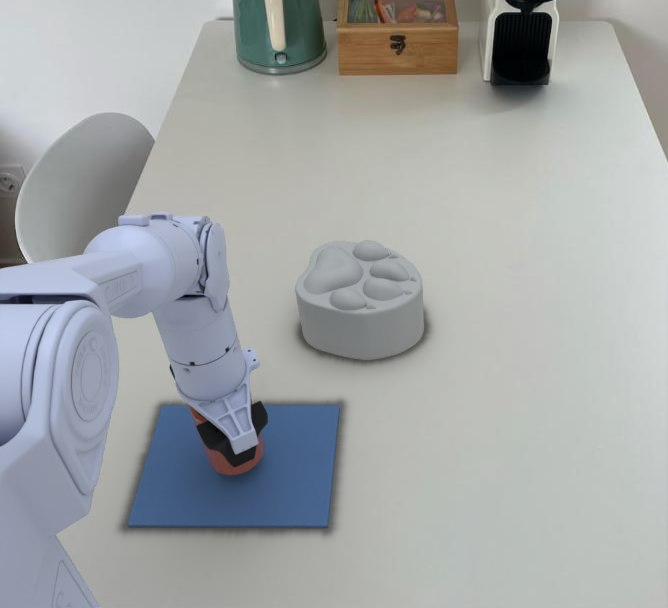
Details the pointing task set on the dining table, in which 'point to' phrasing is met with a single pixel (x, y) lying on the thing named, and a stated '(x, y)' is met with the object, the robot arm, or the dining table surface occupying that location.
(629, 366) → the dining table surface
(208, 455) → the cup
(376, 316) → the lumpy-topped squat cylinder
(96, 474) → the robot arm
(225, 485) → the towel
